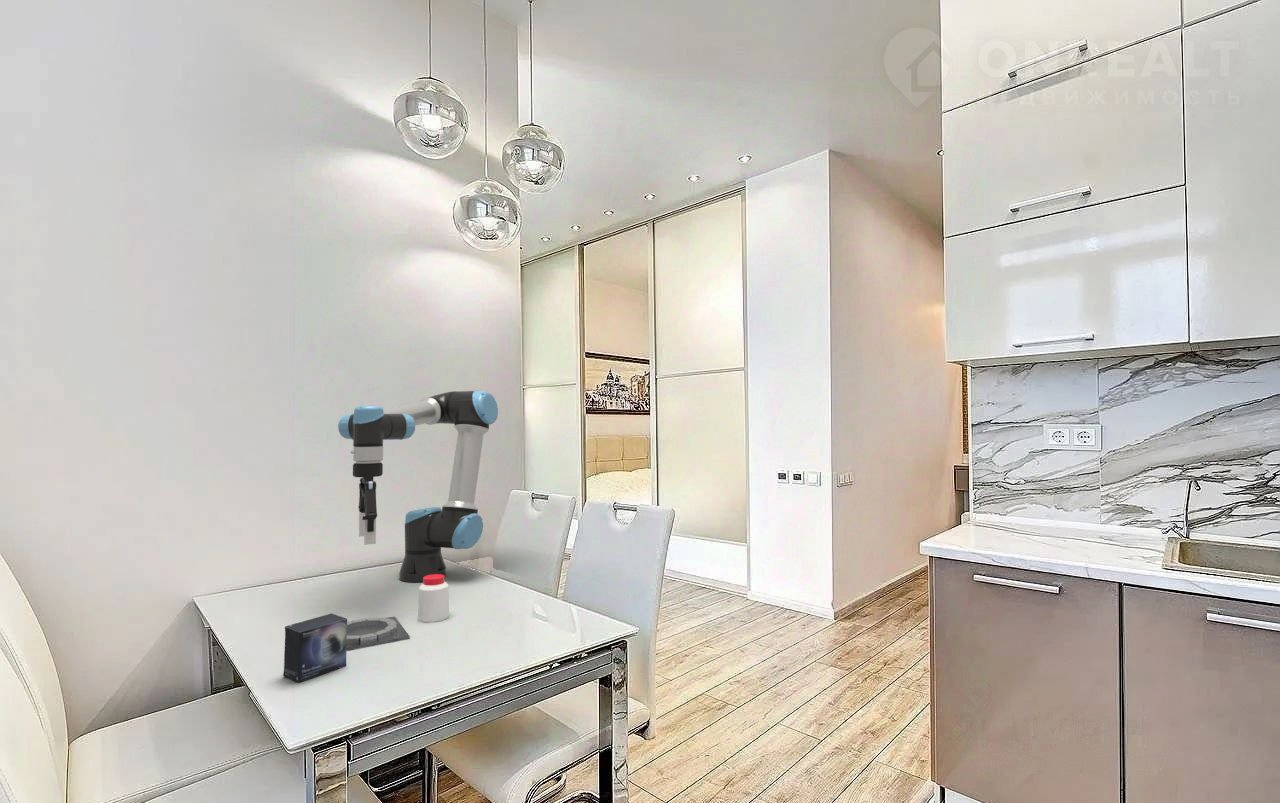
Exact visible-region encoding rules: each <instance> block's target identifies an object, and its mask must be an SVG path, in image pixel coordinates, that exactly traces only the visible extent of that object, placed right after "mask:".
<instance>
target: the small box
mask: <svg viewBox="0 0 1280 803" xmlns="http://www.w3.org/2000/svg"><path fill="white" fill-rule="evenodd" d="M347 622H348V618H346V617H343V616H341V615H339V614H338V615H337V614H334V613H329V614H328V613H327V614H325V615H321V616H317V617H314V618H311V619H310V618H309V619H307V620H304V621H303V620H302V621H299V622H297V623H293V624H289V625H285V626H284V654H283V655H284V656H283V657H284V658H283V662H284V663H283V674H282V676H283V677H285V678H287V679H290V680H292V681H295V682H297V683H302V682H305V681H307V680H309V679H312V678H315V677H318V676H322V675H323V674H327V673H330V672H332V671H336V670H338V669H341V668H344V667H347Z"/></svg>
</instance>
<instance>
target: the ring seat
mask: <svg viewBox="0 0 1280 803" xmlns="http://www.w3.org/2000/svg"><path fill="white" fill-rule="evenodd" d="M410 638H411V637H410V635H409V633H408V632H407V630H405V628H404V627H403V625H402V624H401V623H400V622H399V620H398V619H397V618H396V616H395V615H394V616H390V617H389V616H388V617H368V618H367V617H366V618H365V617H364V618H360V619H355V620H349V621H347V651H352V650H357V649H361V648H362V649H363V648H368V647H373V646H379V645H384V644H389V643H393V642H399V641H404V640H409V639H410ZM347 651H346V652H347Z"/></svg>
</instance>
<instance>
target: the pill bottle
mask: <svg viewBox="0 0 1280 803" xmlns="http://www.w3.org/2000/svg"><path fill="white" fill-rule="evenodd" d="M449 589H450V586H449V583H448V582H446V580H445V577H444V575H442V574H432V575H427V576H424V577H423V582H421V584H420V585H419V587H418V621H420V622H423V623H436V622H441V621H442V622H443V620H447V619H448V618H449V616H450V612H449V611H450V610H449V609H450V607H449V606H450V605H449V604H450V602H449V600H450V598H449V597H450V594H449V593H450V592H449V591H450V590H449Z"/></svg>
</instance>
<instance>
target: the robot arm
mask: <svg viewBox="0 0 1280 803" xmlns="http://www.w3.org/2000/svg"><path fill="white" fill-rule="evenodd" d="M498 416H499V407H498V403H497V401H496V399H495V397H494V395H493V394H492V393H491V392H489V391H487V390H465V391H463V390H462V391H446V392H442V393H439V394H435V395H432V396H429V397H424V398H422V399H421V400H420V401H417V402H413V403H408V404H407V403H406V404H404V405H397V406H392V407H387V408H383V407H382V406H379V405H378V406H377V405H376V406H375V405H374V406H373V405H359V406H356V407H355V408H354V410H353V413H351V414H345V415H343V416H342V417H341V418H340V419H339V421H338V425H337V428H338V432H339V434H340V436H341V437H342V438H343V439H346V440H352V441H353V443H352V446H353V449H352V450H350V454H352V460H353V461H354V463H353V464H352V476H353V478H360V479H359V482H360V483H359V484H358V490H359V493H358V494H359V498H358V512H359V514H358V515H359V516H358V537H363V539H364V540H363V545H376V542H377V532H376V530H377V517H378V512H377V511H378V510H377V481H376V480H374V478H375V477H382V475H383V473H384V472H383V470H384V469H383V468H384V467H383V466H384V464H383V463H382V462H381V461H383V460H384V440H385V441H387V440H389V441H390V440H399V441H400V440H404V439H405V440H406V439H407V440H408V439H410V438H411V437H412V436H414V434H415V431H416V426H420V425H424V424H425V425H428V426H430V425H436V424H438V425H439V424H446V425H447V424H448V425H454V428H455V430H456V431H457V437H456V438H457V439H456V443H455V444H456V445H455V451H454V457H453V465H452V471H451V479H450V484H449V491H448V499H447V502H446V503H445V504H443V505H442V508H441V507H440V506H434V507H425V508H420V509H419V508H418V509H413V510H409V511H408V512H406V514H405V519H404V557H403V560H402V563H401V566H400V569H399V574H398V576H399V577H398V578H399V580H400V581H402V582H406V583H423V577H424V576H427V575H432V574H442V575H444V578H445V577H446V576H447V567H446V563H445V560H444V557H443V554H442V548H443V549H453V550H468V549H471V548H473V547H474V546H475V545H476V544H477V543H478V542H479V540H480V539H481V536H482V533H483V530H484V529H483V528H484V523H483V518H482V516H481V515H479V513H478V510H479V508H478V507H477V506H476V504H475V500H476V493H477V484H478V478H479V477H478V476H479V470H480V462H481V457H482V448H483V441H484V436H485V434H487V433H488V432H489V428H490V425H493V424H494V423H495V422H496V421H497V419H498Z"/></svg>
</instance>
